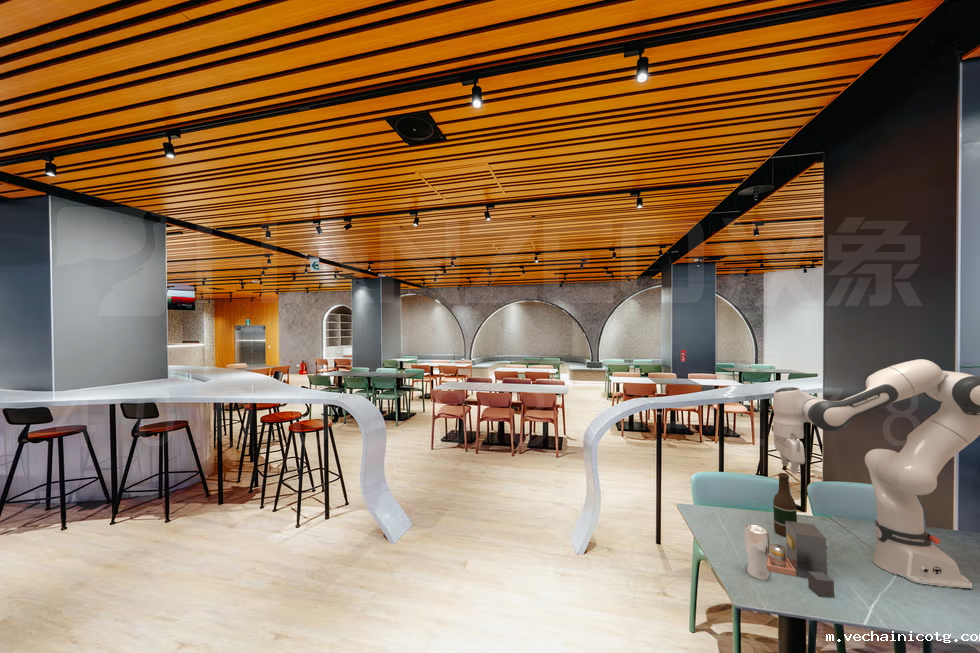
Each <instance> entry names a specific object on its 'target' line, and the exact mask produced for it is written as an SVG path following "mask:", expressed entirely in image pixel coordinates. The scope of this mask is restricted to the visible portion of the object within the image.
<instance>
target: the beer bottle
mask: <svg viewBox="0 0 980 653" xmlns="http://www.w3.org/2000/svg"><path fill="white" fill-rule="evenodd" d="M777 476H778V491H777V492H776V494H775V495H774V497H773V502H772V504H773V527H774V528H773V529H774V532H775V534H777V535H779V536H781V537H783V538H786V521H792V522H798V517H797V515H798V514H797V512H798V511H797V504H796V502H795V499H794V498H793V496H792V495H791V490H790V481H789V479H790V476H789V474H787V473H783V472H779V473H778V474H777Z"/></svg>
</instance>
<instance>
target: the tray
mask: <svg viewBox="0 0 980 653" xmlns="http://www.w3.org/2000/svg"><path fill="white" fill-rule="evenodd" d="M767 570H768V572H770V573H771V572H772V573H778V574H782V575H788V576H794V577H797V575H796V570H795V568H794V567H793V565H792V563H791V562H790V560H789V559H788V558H787V557H786V568H783V567H778V566H773V565H772V564H771V563H770V554H769V556H768V562H767Z"/></svg>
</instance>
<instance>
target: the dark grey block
mask: <svg viewBox="0 0 980 653" xmlns="http://www.w3.org/2000/svg"><path fill="white" fill-rule="evenodd" d="M785 542H786V558H788V559H789V560H790V562H791V563H792V565H793V567H794V568H795V570H796V577H797V578H803V579H808V571H810V572H823V573H824V574H826V575H827V576H828V565H827V563H828V561H827V558H828V557H827V556H828V555H827V550H828V546H827V537H825V536H824V535H823V533H822V532H821V531H820V530H819V529H818V528H817V527H816V526H815V525H814V524H812V523H811V524H810V523H804V522H798V521H797V522H792V521H786V537H785Z"/></svg>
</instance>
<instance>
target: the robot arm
mask: <svg viewBox="0 0 980 653" xmlns="http://www.w3.org/2000/svg"><path fill="white" fill-rule="evenodd" d="M865 386H866V387H865V390H863V391H861V392H859V393H857V394H855V395H852V396H848V397H846V398H844V399H842V400H826V399H823V398H821V397H818V396H815V395H812V394H809V393H807V392H804V391H803V390H801V389H800V388H799V387H794V386H793V387H792V386H791V387H781V388H777V389H776V390H775V391H774V394H773V398H772V411H773V413H774V414H773V415H774V416H773V417H774V418H773V422H772V423H773V424H772V425H771V426H770V429H771V431H772V432H773V433H772V434H773V445H774V448H775V450H776V451H777V452H779V455H780V460H781V465H782V466H783V467H784V466H786V467H788V466H789V461H790V466H789V469H790V473H792V474H794V475H797V474H798V473H799V472H798V471H799V466H800V465H804V464H805V463H806V457H805V448H804V444H803V442H802V441H801V440H800V439H804V437H805V433H804V432H805V431H804V423H811V424H812V425H814V426H815V427H817V428H819V429H820V430H823V431H827V432H837V431H841V430H843V429H845V428H846V427H847V426H848V425H849V424H851V422H853V421H854V420H855V419H857V418H859V417H863V416H864V415H867V414H869V413H872V412H874V411H877V410H879V409H881V408H884V407H885V406H888V405H891V404H893V403H896V402H899V401H902V400H905V399H909V398H911V397H915V396H917V395H920V394H922V395H924V396H925V397H928V398H929V399H931V400H936V401H938V402H941V403H940V404H941V405H940V407H939V409H938V410H937V412H936V413H934V414H932V415H931V416H930V417H928V418H927V419H925V420H924V421H923V422H922V423H921V424H919V425H918V426H917V427H916V428H915V429H913V430H912V431H911V432H910V433H908V435H906V442H905V444H904V446H903V447H902V449H901V450H900V451H899V452H897V451H895V450H892V449H885V448H873V449H871V450H869V451H868V452H867V453H866V454H865V456H864V464H865V465H866V467H867V469H868V473H869V477H870V480H871V484H872V488H873V491H874V496H875V500H876V501H875V502H876V503H875V504H876V517H877V518H876V520H875V537H876V545H875V551H874V554H873V557H872V559H871V560H872V562H873V563H874V564H875V565H876V566H877V567H879V568H881V569H883V570H885V571H887V572H888V573H890V574H893V573H894V574H893V575H896V574H899V575H903V576H905V577H907V578H909V579H911V580H913V581H915V582H919V583H928V584H933V585H941V586H951V587H952V586H953V587H972V586H973V583H972V582H971V581H970V580H969V579H968V578H967V577H966V578H965V575H963V574H962V573H961V570H960V568H959V566H958V564H957V562H955V560H954V559H953V558H952V557H950V556H949V555H948V554H946V553H945V552H944V551H943V550H941V549H940V548H939V547H937V546H936V545H939V544H941V542H942V541H941V539H939V538H938V537H936V536H935V535H931V534H930V533H929V532H927V531H925V527H924V509H923V506H922V504H921V502H920V500H919V499H918V497H917V496H925V495H929V494H931V493H933V492H934V491H935V490H936V488H937V486H938V476H939V474H940V473H941V471H942V470H943V468H944V467H945V465H946V464H947V463H948V461H950V460H951V459H952V458H953V457H955V456H956V455H957V454H958V453H960V452H961V451H962V450H963V449H965V448H966V447H967V446H969V445H970V444H971V443H973V441H975V440H976V439H977V438H978V437H979V436H980V376H976V375H974V374H970V373H966V372H959V371H949V370H943V369H941V367H940V366H939V365H938V364H936V363H935V362H933V361H932V360H931V361H930V360H928V359H923V358H921V359H920V358H918V359H914V360H908V361H904V362H900V363H897V364H893V365H890V366H888V367H886V368H885V367H884V368H882V369H880V370H878V371H876V372H874V373H872V374H870V375H869V376H867V378H866V381H865ZM934 544H935V545H934ZM961 574H962V575H961ZM922 580H923V581H922ZM966 581H968V583H966ZM915 582H914V583H915ZM941 586H940V587H941ZM951 587H950V588H951Z"/></svg>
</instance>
